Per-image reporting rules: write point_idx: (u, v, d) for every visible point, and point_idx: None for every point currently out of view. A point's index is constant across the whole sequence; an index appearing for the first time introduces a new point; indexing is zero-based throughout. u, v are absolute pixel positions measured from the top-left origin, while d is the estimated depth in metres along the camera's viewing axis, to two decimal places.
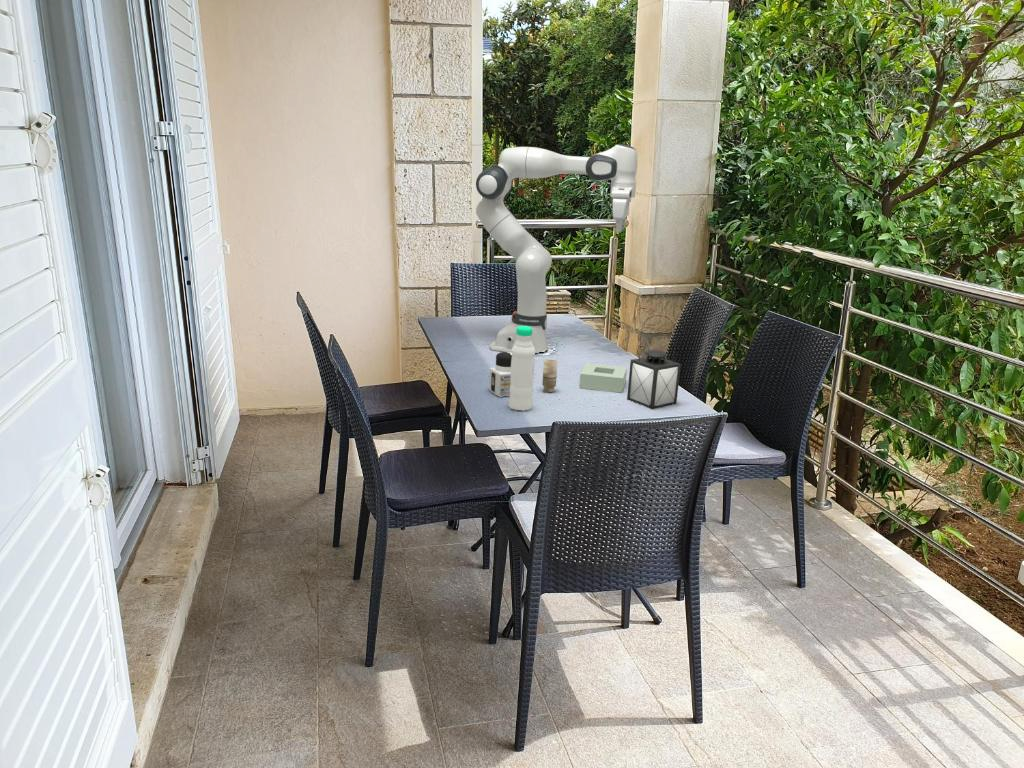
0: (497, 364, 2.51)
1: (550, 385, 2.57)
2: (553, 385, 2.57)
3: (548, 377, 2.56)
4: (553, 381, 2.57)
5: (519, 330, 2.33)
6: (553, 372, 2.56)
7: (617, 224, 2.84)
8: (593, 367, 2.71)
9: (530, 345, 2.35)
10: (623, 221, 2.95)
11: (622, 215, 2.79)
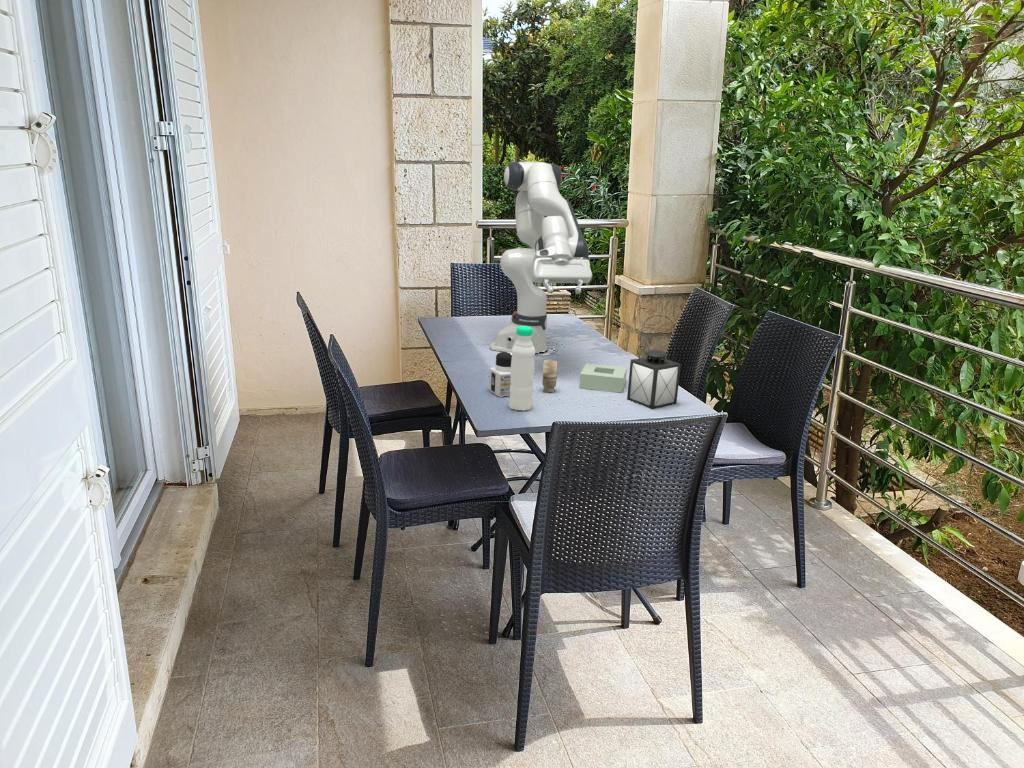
0: (497, 364, 2.51)
1: (550, 385, 2.57)
2: (553, 385, 2.57)
3: (548, 377, 2.56)
4: (553, 381, 2.57)
5: (519, 330, 2.33)
6: (553, 372, 2.56)
7: (544, 286, 2.63)
8: (593, 367, 2.71)
9: (530, 345, 2.35)
10: (579, 284, 2.65)
11: (533, 273, 2.62)
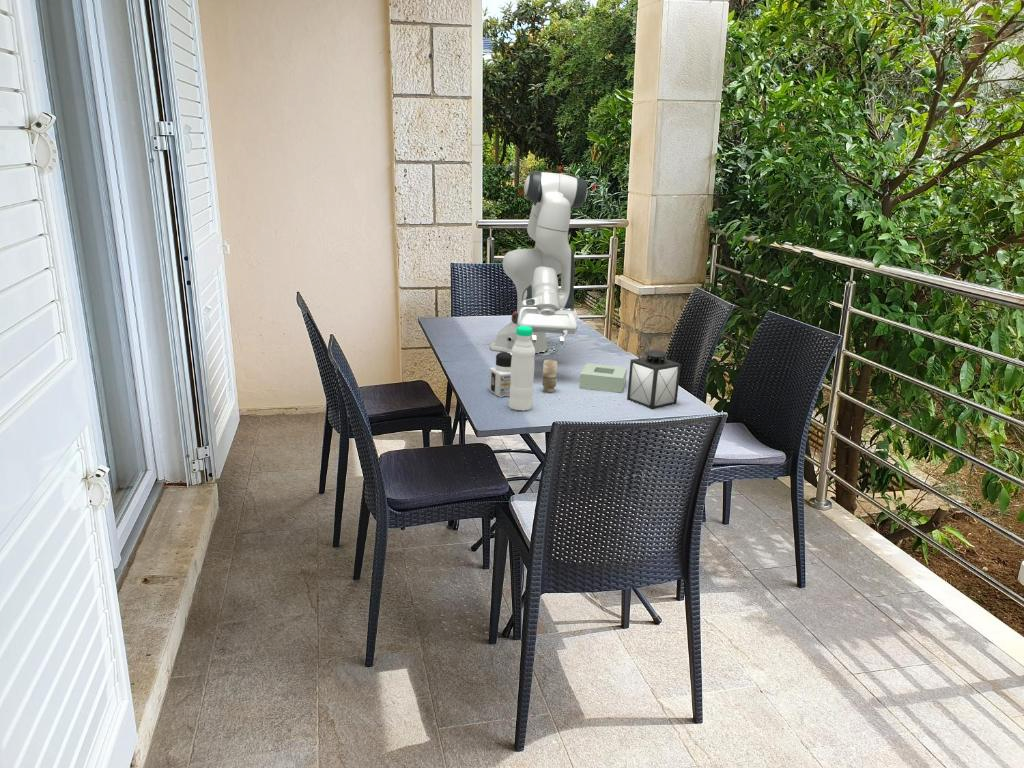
0: (497, 364, 2.51)
1: (550, 385, 2.57)
2: (553, 385, 2.57)
3: (548, 377, 2.56)
4: (553, 381, 2.57)
5: (519, 330, 2.33)
6: (553, 372, 2.56)
7: None
8: (593, 367, 2.71)
9: (530, 345, 2.35)
10: (564, 334, 2.64)
11: (517, 322, 2.63)
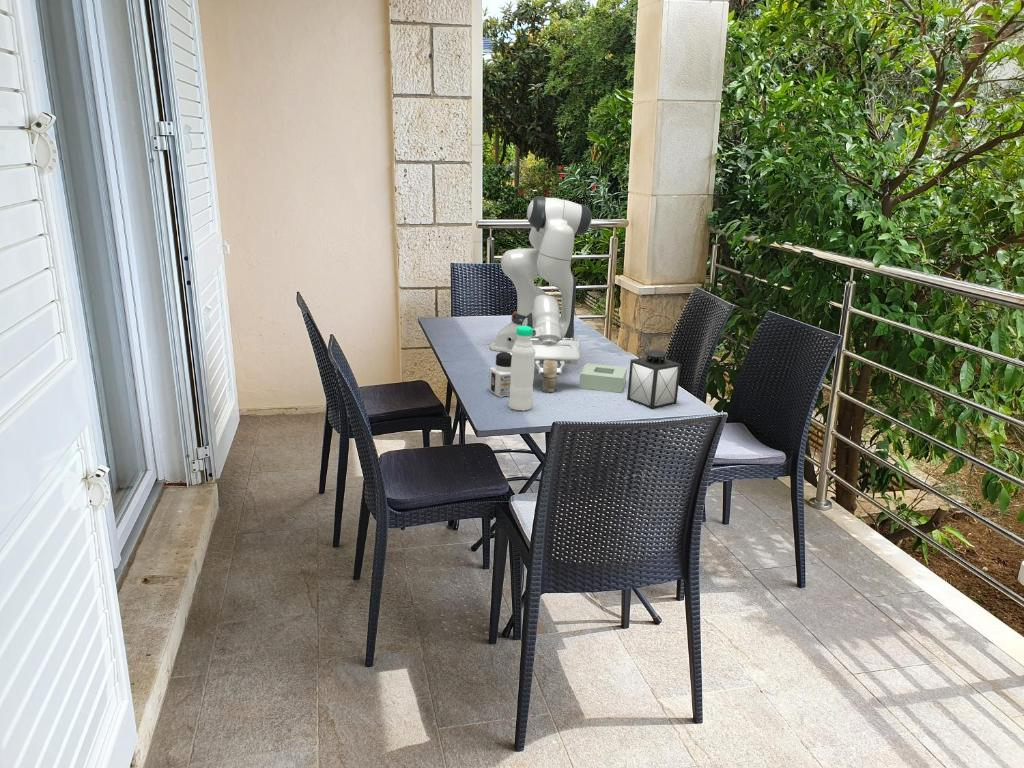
0: (497, 364, 2.51)
1: (550, 385, 2.57)
2: (553, 385, 2.57)
3: (548, 377, 2.56)
4: (553, 381, 2.57)
5: (519, 330, 2.33)
6: (553, 372, 2.56)
7: (536, 367, 2.59)
8: (593, 367, 2.71)
9: (530, 345, 2.35)
10: (560, 365, 2.59)
11: None
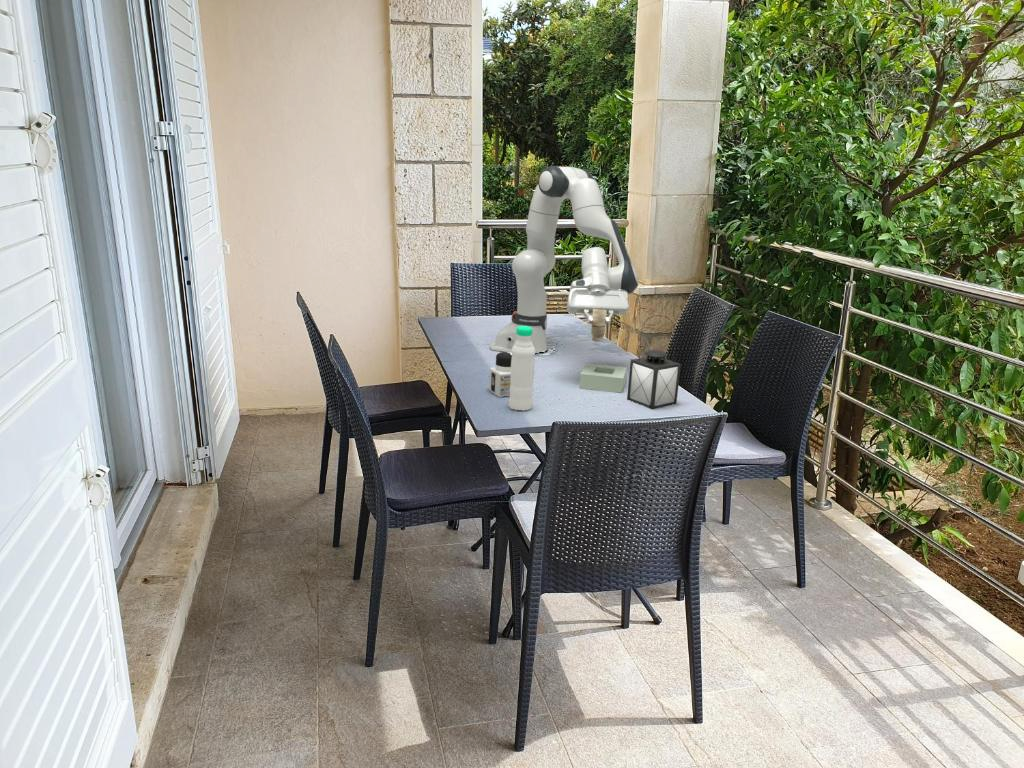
0: (497, 364, 2.51)
1: (599, 333, 2.58)
2: (602, 334, 2.59)
3: (597, 325, 2.58)
4: (602, 330, 2.58)
5: (519, 330, 2.33)
6: (602, 320, 2.57)
7: (585, 316, 2.61)
8: (593, 367, 2.71)
9: (530, 345, 2.35)
10: (609, 315, 2.61)
11: (568, 303, 2.60)
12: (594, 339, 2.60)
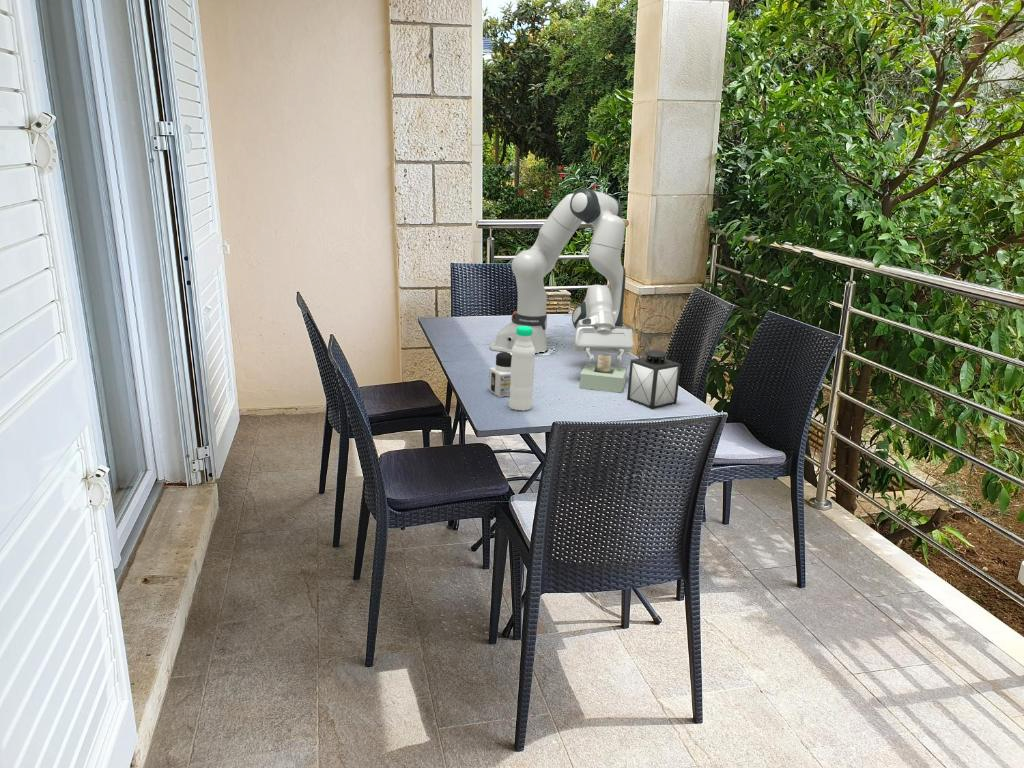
0: (497, 364, 2.51)
1: None
2: None
3: (602, 371, 2.66)
4: None
5: (519, 330, 2.33)
6: (607, 366, 2.66)
7: (586, 354, 2.68)
8: (593, 367, 2.71)
9: (530, 345, 2.35)
10: (620, 353, 2.68)
11: (575, 342, 2.67)
12: None
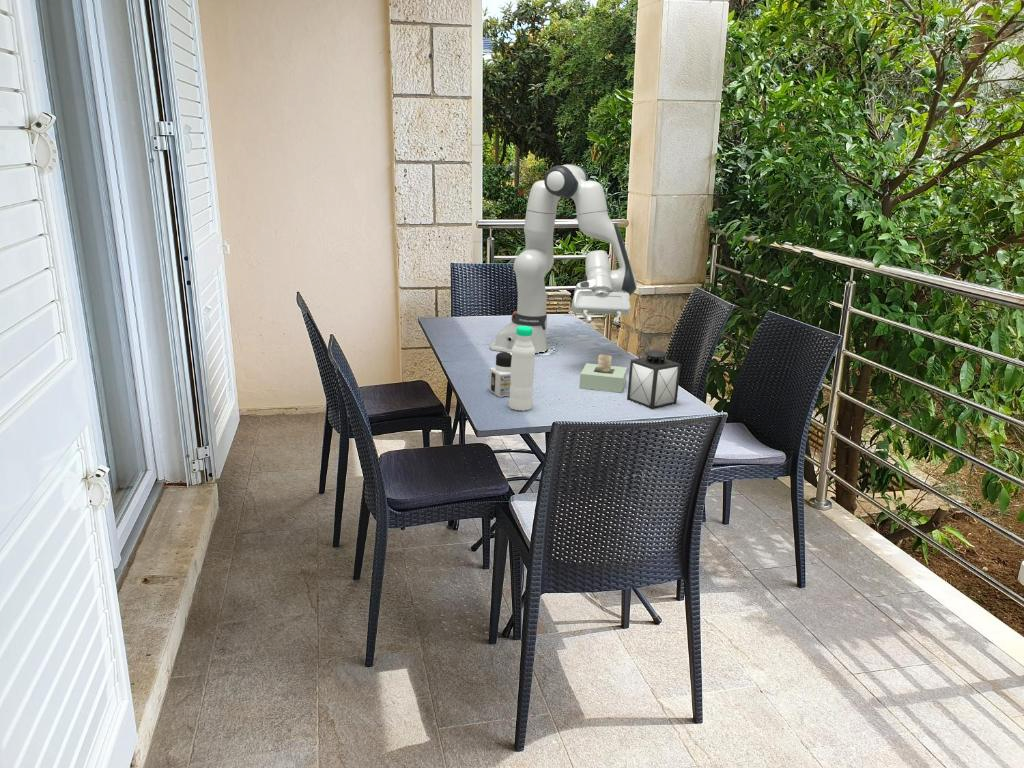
0: (497, 364, 2.51)
1: None
2: None
3: (603, 371, 2.66)
4: None
5: (519, 330, 2.33)
6: (608, 366, 2.66)
7: (584, 316, 2.75)
8: (593, 367, 2.71)
9: (530, 345, 2.35)
10: (617, 315, 2.75)
11: (573, 304, 2.74)
12: None
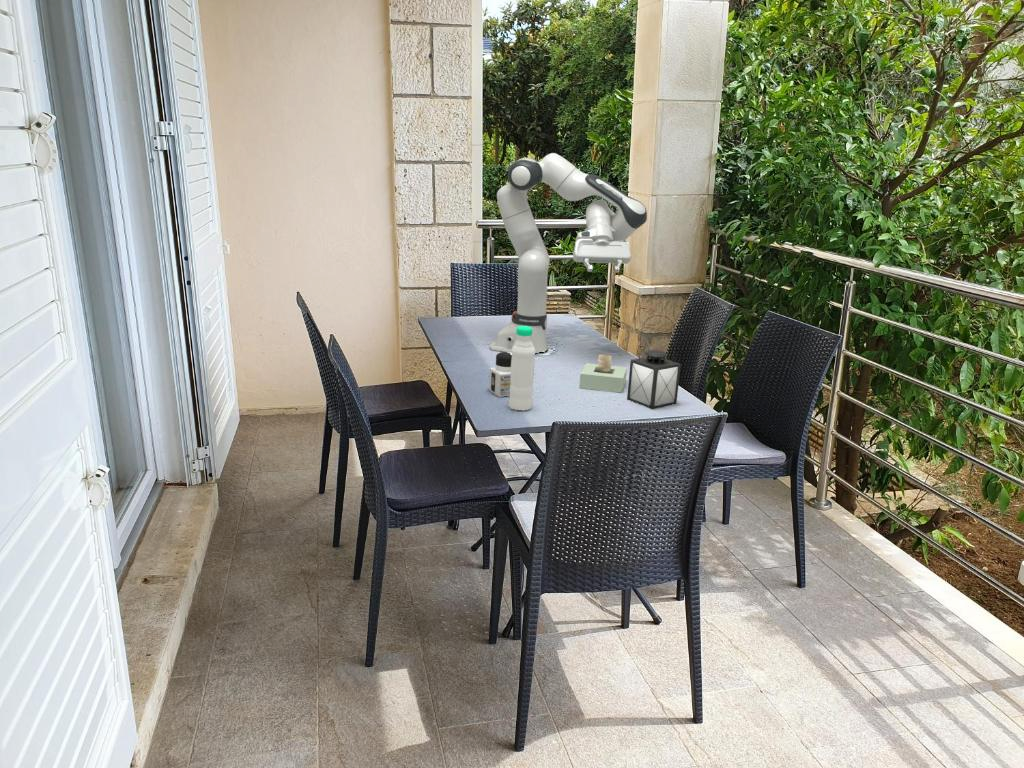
0: (497, 364, 2.51)
1: None
2: None
3: (603, 371, 2.66)
4: None
5: (519, 330, 2.33)
6: (608, 366, 2.66)
7: (585, 265, 2.79)
8: (593, 367, 2.71)
9: (530, 345, 2.35)
10: (618, 264, 2.79)
11: (574, 253, 2.78)
12: None
